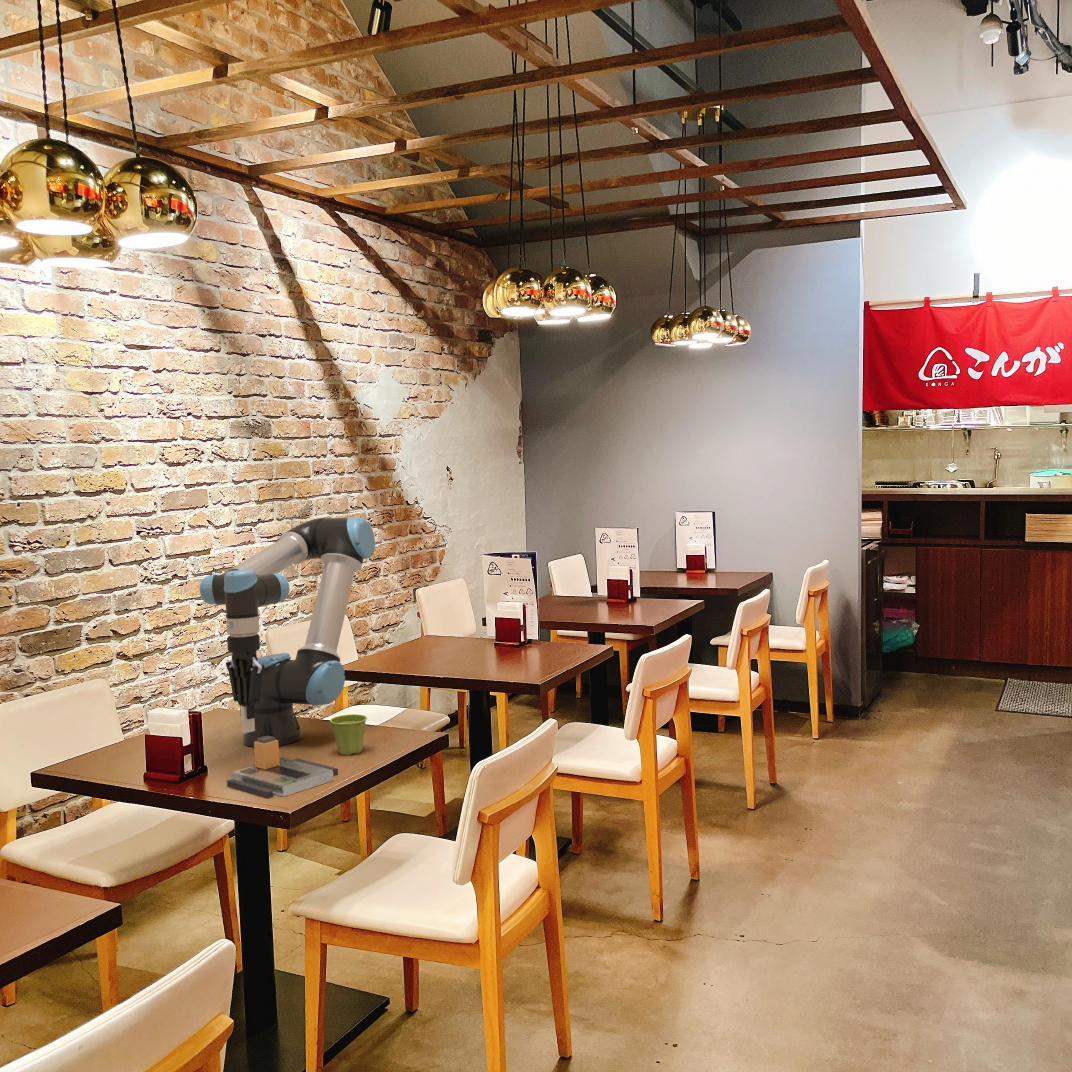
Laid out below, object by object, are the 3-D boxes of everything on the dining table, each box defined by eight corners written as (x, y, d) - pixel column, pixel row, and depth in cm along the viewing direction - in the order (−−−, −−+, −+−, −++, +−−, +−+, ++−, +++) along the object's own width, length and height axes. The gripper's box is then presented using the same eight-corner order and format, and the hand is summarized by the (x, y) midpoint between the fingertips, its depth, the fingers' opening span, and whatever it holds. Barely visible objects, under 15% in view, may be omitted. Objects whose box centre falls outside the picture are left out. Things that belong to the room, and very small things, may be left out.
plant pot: (374, 747, 261) (373, 714, 260) (359, 757, 252) (357, 723, 251) (342, 746, 263) (340, 713, 263) (325, 756, 254) (323, 722, 254)
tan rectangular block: (255, 766, 238) (253, 738, 238) (269, 762, 241) (268, 734, 241) (265, 769, 235) (263, 740, 235) (279, 765, 238) (278, 737, 238)
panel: (232, 781, 236) (231, 771, 236) (282, 766, 246) (281, 756, 246) (283, 796, 223) (282, 785, 223) (333, 780, 233) (333, 769, 233)
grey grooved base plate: (224, 785, 233) (224, 779, 233) (297, 763, 249) (297, 758, 249) (267, 798, 222) (267, 792, 222) (340, 774, 238) (340, 769, 238)
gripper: (214, 634, 242) (219, 731, 243) (245, 638, 234) (250, 738, 235) (241, 630, 248) (246, 725, 249) (272, 634, 239) (277, 731, 240)
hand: (248, 731), depth 242 cm, fingers closed
